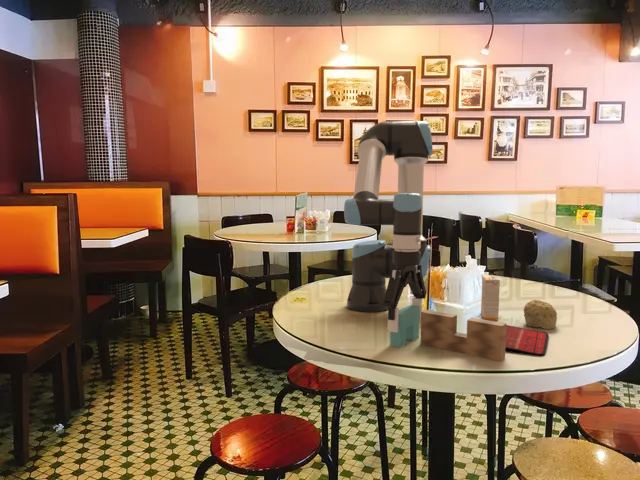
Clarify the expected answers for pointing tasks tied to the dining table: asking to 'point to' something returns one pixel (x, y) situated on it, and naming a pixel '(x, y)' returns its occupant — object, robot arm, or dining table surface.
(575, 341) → the dining table surface
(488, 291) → the supplement box
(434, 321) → the walnut board
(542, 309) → the decorative item
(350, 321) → the dining table surface
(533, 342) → the binder
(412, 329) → the teal plate
